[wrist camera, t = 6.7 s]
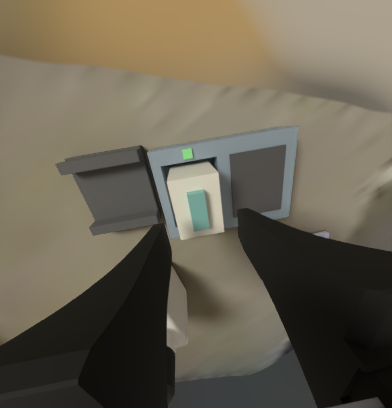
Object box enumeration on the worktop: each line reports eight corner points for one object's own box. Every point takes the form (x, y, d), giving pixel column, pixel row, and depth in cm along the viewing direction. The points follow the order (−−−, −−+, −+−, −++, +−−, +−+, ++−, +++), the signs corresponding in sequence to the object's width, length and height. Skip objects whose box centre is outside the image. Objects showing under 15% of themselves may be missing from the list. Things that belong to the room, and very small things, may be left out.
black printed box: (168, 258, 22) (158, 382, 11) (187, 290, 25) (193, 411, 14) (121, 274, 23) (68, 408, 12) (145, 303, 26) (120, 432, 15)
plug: (205, 158, 16) (220, 174, 10) (211, 202, 19) (226, 236, 13) (170, 164, 16) (165, 184, 10) (180, 207, 18) (181, 244, 12)
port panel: (278, 126, 16) (300, 125, 13) (274, 205, 20) (289, 217, 17) (152, 148, 16) (146, 152, 13) (171, 224, 20) (170, 240, 17)
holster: (140, 145, 16) (135, 147, 14) (161, 215, 19) (159, 225, 17) (69, 157, 16) (53, 161, 14) (102, 225, 19) (94, 237, 17)
